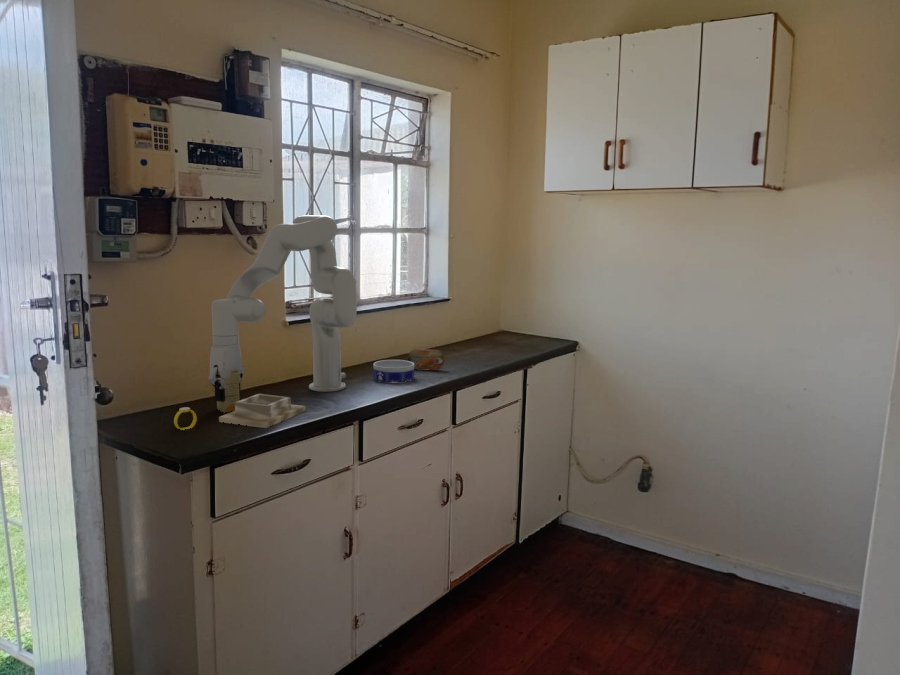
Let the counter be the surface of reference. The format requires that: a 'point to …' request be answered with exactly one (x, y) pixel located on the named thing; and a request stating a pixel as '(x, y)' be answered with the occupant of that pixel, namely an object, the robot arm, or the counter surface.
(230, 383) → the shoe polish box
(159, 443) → the counter surface
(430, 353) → the food package
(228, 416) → the socket board
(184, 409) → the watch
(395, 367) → the dog bowl
